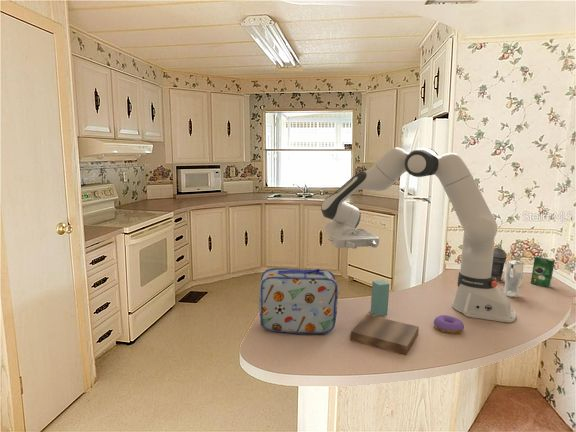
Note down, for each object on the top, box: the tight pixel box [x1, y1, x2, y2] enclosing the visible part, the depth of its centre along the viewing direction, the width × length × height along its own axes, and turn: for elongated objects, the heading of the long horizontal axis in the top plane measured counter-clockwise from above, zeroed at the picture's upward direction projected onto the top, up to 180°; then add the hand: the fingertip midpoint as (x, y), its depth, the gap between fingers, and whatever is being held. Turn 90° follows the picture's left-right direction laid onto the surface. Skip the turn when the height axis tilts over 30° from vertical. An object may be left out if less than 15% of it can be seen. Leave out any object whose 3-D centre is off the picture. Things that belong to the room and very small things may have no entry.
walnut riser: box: [350, 314, 420, 356], centre depth 133 cm, size 18×16×3 cm
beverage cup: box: [491, 239, 507, 282], centre depth 196 cm, size 7×7×20 cm
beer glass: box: [502, 259, 524, 299], centre depth 175 cm, size 7×7×15 cm
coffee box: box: [530, 256, 556, 288], centre depth 190 cm, size 8×3×13 cm, turn 43°
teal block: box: [370, 279, 390, 317], centre depth 153 cm, size 4×4×12 cm
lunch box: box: [258, 267, 340, 334], centre depth 136 cm, size 28×10×22 cm, turn 91°
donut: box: [433, 314, 465, 335], centre depth 141 cm, size 10×9×5 cm
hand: (365, 246), depth 160 cm, fingers open, 8 cm apart
